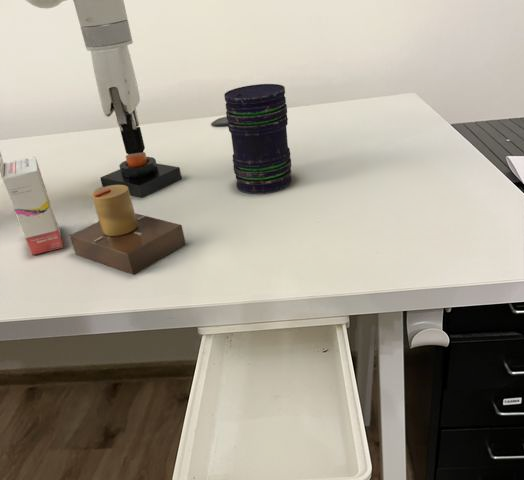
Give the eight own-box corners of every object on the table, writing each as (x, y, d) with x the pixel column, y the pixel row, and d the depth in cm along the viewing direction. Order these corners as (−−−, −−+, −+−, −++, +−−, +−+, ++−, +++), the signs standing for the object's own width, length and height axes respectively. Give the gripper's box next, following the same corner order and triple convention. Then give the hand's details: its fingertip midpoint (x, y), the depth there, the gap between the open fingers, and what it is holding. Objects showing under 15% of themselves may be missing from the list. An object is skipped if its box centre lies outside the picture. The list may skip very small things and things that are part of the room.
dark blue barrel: (271, 169, 101) (263, 81, 92) (304, 182, 94) (298, 87, 85) (225, 184, 97) (212, 94, 88) (255, 199, 90) (244, 101, 81)
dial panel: (75, 254, 80) (68, 234, 78) (127, 228, 86) (122, 208, 84) (133, 274, 73) (127, 253, 71) (185, 244, 79) (181, 223, 77)
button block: (103, 189, 102) (97, 167, 100) (143, 171, 108) (138, 151, 106) (141, 197, 96) (136, 175, 94) (182, 178, 102) (177, 157, 100)
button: (124, 166, 100) (121, 156, 99) (138, 160, 102) (136, 150, 101) (136, 169, 98) (134, 159, 97) (151, 162, 100) (149, 153, 99)
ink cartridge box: (65, 248, 82) (30, 148, 74) (31, 256, 81) (-8, 156, 72) (60, 228, 89) (28, 134, 80) (29, 235, 88) (-8, 141, 79)
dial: (123, 218, 81) (112, 180, 78) (145, 225, 78) (135, 185, 75) (95, 232, 78) (83, 192, 75) (117, 238, 75) (105, 198, 72)
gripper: (94, 33, 94) (122, 142, 105) (72, 46, 82) (107, 168, 93) (137, 27, 94) (161, 137, 105) (122, 39, 82) (150, 162, 93)
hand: (135, 151), depth 99 cm, fingers closed
